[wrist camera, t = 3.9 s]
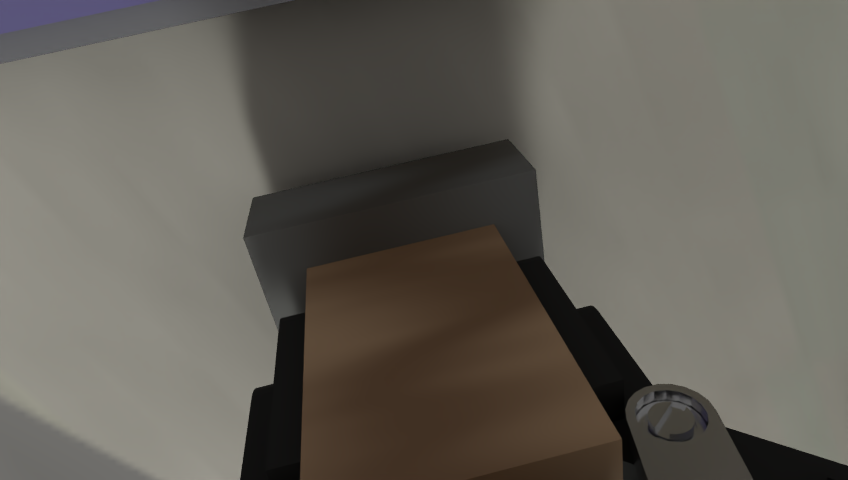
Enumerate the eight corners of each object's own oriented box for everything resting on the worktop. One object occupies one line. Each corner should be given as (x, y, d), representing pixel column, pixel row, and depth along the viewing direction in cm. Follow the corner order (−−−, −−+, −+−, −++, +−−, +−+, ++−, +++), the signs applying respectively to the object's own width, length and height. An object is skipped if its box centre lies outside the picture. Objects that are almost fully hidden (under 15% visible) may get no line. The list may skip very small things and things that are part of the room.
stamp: (507, 139, 14) (876, 547, 5) (531, 339, 17) (788, 833, 8) (252, 198, 13) (118, 756, 4) (321, 392, 16) (326, 972, 7)
